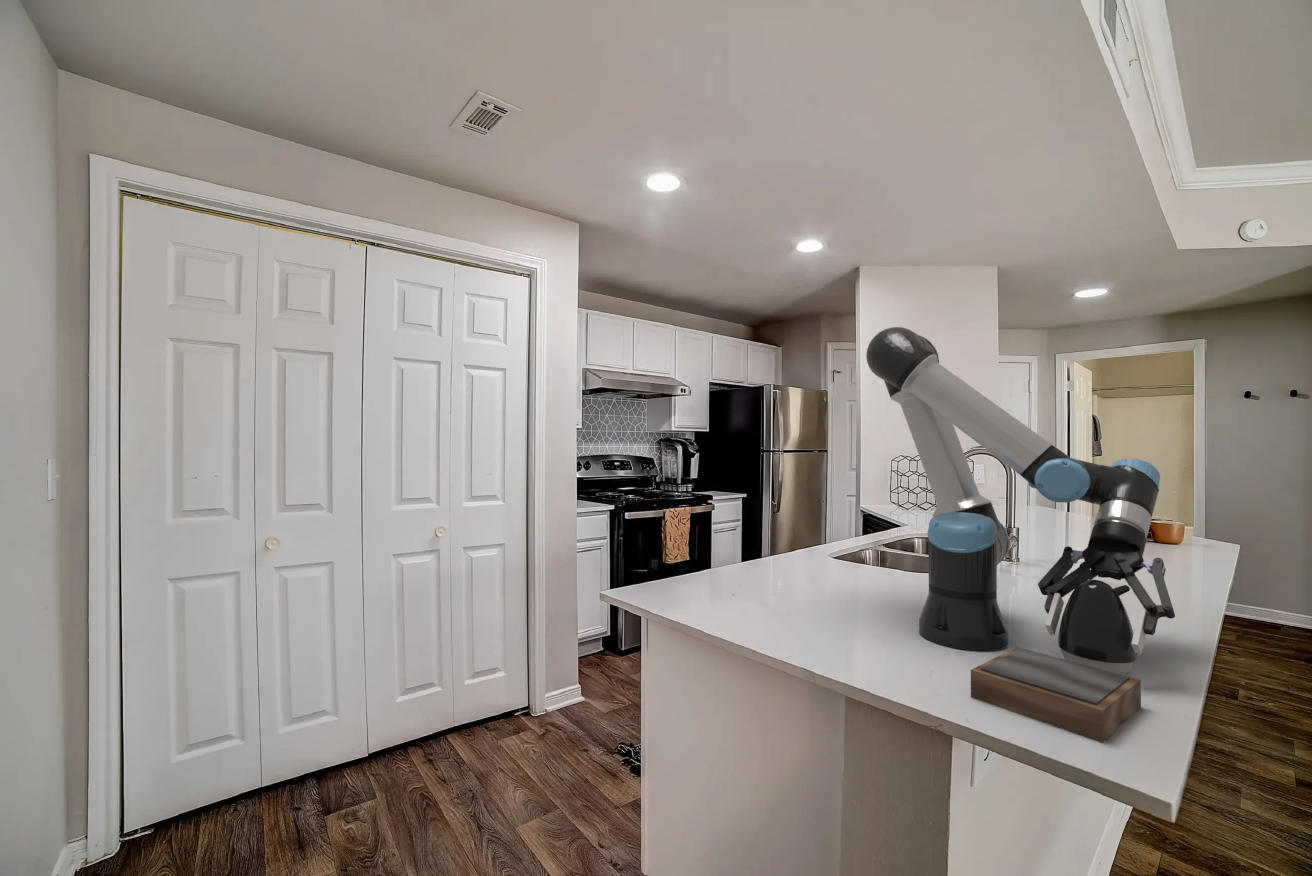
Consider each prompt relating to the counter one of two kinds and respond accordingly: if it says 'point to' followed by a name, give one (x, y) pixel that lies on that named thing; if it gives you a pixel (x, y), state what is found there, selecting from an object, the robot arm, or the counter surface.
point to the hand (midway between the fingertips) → (1090, 639)
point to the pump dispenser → (1097, 628)
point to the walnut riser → (1058, 692)
